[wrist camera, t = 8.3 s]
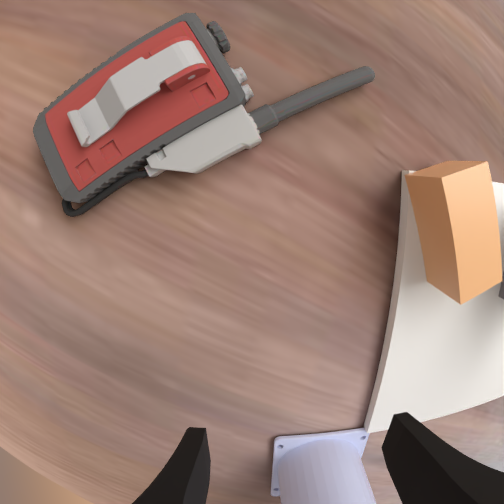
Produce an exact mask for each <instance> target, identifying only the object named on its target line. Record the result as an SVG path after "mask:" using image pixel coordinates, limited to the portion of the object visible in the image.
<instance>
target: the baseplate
mask: <svg viewBox="0 0 504 504" xmlns="http://www.w3.org/2000/svg"><path fill="white" fill-rule="evenodd" d="M413 172H416V171H410V170H402V184H401V208H400V224H399V237H398V248H397V258H396V267H395V275H394V283H393V290H392V297H391V304H390V310H389V317H388V322H387V328H386V334H385V339H384V344H383V349H382V354H381V359H380V363H379V368H378V372H377V377H376V381H375V385H374V389H373V393H372V397H371V401H370V405H369V408H368V412H367V416H366V419H365V423H364V428H365V430H366V432H367V433H372V432H378V431H383V430H388V429H389V426H390V423H391V421H392V418H393V415H394V414H398V413H403V412H408V413H409V414H410V415H412V416H413V417H414V418H415V419H417V420H418V421H419V422H424V421H428V420H431V419H435V418H439V417H442V416H446V415H449V414H452V413H456V412H459V411H462V410H465V409H468V408H471V407H474V406H477V405H480V404H483V403H486V402H488V401H491V400H494V399H496V398H499V397H501V396H504V299H502V298H500V297H499V291H500V286H501V282H500V283H498V284H496V285H495V286H493V287H491V288H490V289H488V290H486V291H485V292H483V293H481V294H479V295H478V296H476V297H474V298H472V299H470V300H469V301H467V302H465V303H463V304H461V305H460V304H459V303H457V302H456V301H454V300H453V299H452V298H450V297H449V296H447V295H446V294H444V293H443V292H442V291H440V290H439V289H437V288H436V287H434V286H433V285H431V284H430V283H428V282H427V278H426V272H425V266H424V260H423V254H422V249H421V244H420V238H419V234H418V229H417V224H416V220H415V215H414V211H413V207H412V202H411V198H410V194H409V191H408V187H407V183H406V179H405V176H404V175H407V174H410V173H413ZM492 185H493V191H494V197H495V203H496V210H497V217H498V226H499V235H500V246H501V260H502V276H503V271H504V184H503V183H497V182H492Z"/></svg>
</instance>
